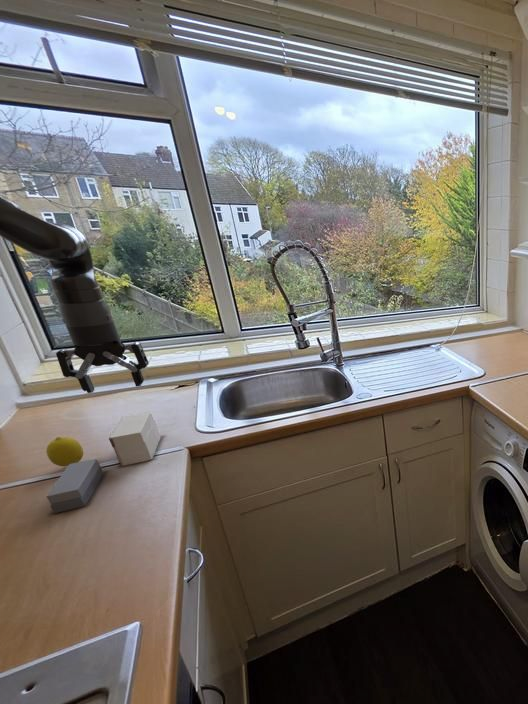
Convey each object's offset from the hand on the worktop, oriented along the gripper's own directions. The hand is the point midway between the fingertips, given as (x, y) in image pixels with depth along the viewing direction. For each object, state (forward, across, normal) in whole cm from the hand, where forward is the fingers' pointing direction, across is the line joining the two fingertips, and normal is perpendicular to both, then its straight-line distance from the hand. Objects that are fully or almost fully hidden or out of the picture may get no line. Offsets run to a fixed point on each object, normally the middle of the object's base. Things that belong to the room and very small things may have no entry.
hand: (115, 388), depth 95 cm
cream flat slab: (+12, 0, 0) cm, 12 cm away
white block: (+17, 0, 0) cm, 17 cm away
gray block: (+18, +7, +14) cm, 24 cm away
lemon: (+18, +12, +1) cm, 22 cm away
